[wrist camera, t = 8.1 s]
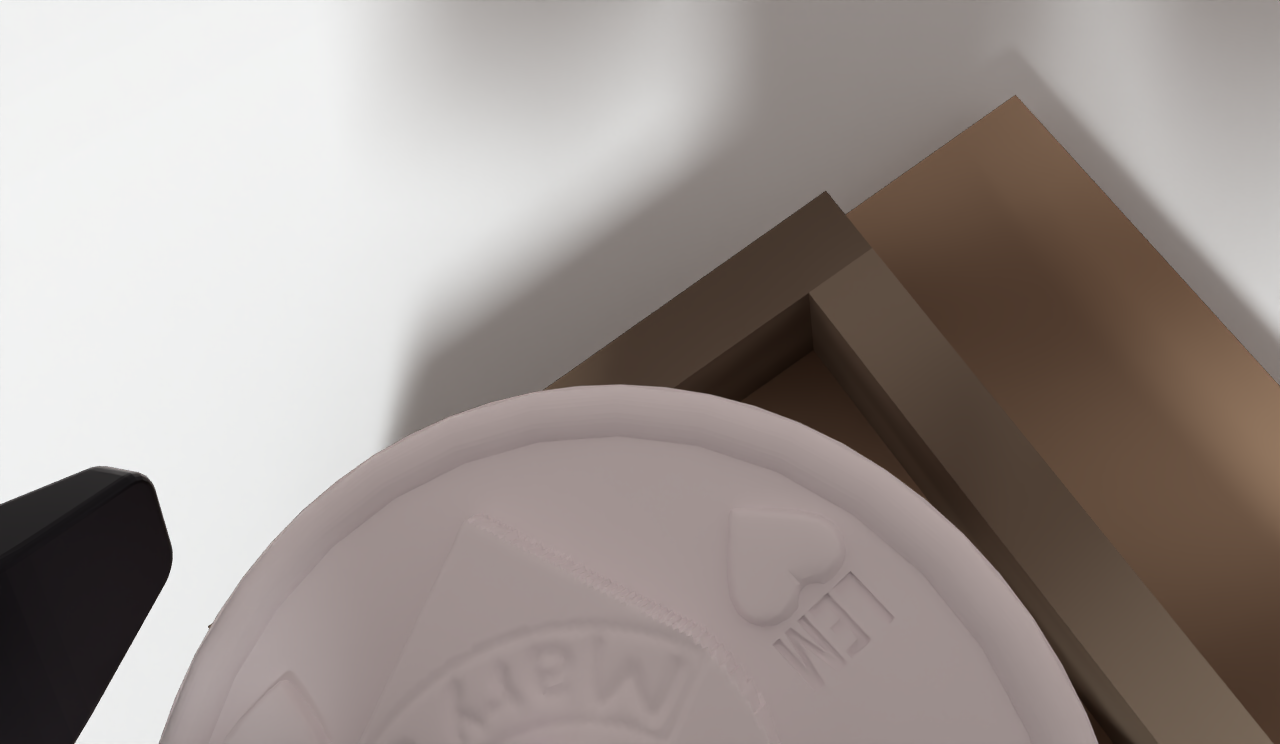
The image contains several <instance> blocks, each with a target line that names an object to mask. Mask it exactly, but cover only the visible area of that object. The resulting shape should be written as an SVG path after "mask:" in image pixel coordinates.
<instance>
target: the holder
mask: <svg viewBox="0 0 1280 744" xmlns="http://www.w3.org/2000/svg"><path fill="white" fill-rule="evenodd" d="M620 384H621V385H637V386H654V387H667V388H674V389H680V390H686V391H692V392H699V393H705V394H711V395H715V396H718V397H722V398H726V399H730V400H734V401H738V402H741V403H745V404H749V405H753V406H756V407H759V408H762V409H764V410H767V411H770V412H772V413H775V414H778V415H780V416H783V417H786V418H789V419H791V420H794V421H797V422H799V423H801V424H803V425H806V426H808V427H810V428H812V429H814V430H816V431H818V432H820V433H822V434H824V435H826V436H828V437H830V438H832V439H835V440H837V441H839V442H841V443H843V444H844V445H846V446H848V447H849V448H851V449H853V450H854V451H856V452H858V453H859V454H861V455H862V456H864V457H866V458H867V459H869V460H871V461H872V462H874V463H876V464H877V465H879V466H880V467H882V468H884V469H885V470H887V471H888V472H889V473H891V474H892V475H893V476H895V477H896V478H897V479H899V480H900V481H901V482H903V483H904V484H905V485H907V486H908V487H909V488H911V489H912V490H913V491H915V492H916V493H917V494H919V495H920V496H921V497H923V498H924V499H925V500H927V501H928V502H929V503H930V504H931V505H932V506H933V507H934V508H935V509H937V510H938V511H939V512H940V513H941V514H942V515H943V516H944V517H945V518H946V519H948V520H949V521H950V522H951V523H952V524H953V525H954V526H955V527H956V528H957V529H959V530H960V531H961V532H962V533H963V534H964V535H965V536H966V537H967V538H968V539H969V540H970V542H971V543H972V544H973V545H974V546H975V547H976V548H977V549H978V550H979V551H980V552H981V554H982V555H983V556H984V557H985V558H986V559H987V560H988V561H989V562H990V563H991V565H992V566H993V567H994V568H995V569H996V570H997V571H998V572H999V573H1000V575H1001V576H1002V577H1003V578H1004V580H1005V581H1006V582H1007V584H1008V585H1009V586H1010V588H1011V589H1012V590H1013V592H1014V593H1015V594H1016V596H1017V597H1018V598H1019V600H1020V601H1021V602H1022V604H1023V605H1024V606H1025V608H1026V609H1027V610H1028V611H1029V613H1030V614H1031V615H1032V617H1033V618H1034V620H1035V622H1036V623H1037V625H1038V626H1039V628H1040V630H1041V631H1042V633H1043V634H1044V636H1045V638H1046V639H1047V641H1048V643H1049V644H1050V646H1051V647H1052V649H1053V651H1054V652H1055V654H1056V655H1057V657H1058V659H1059V660H1060V662H1061V664H1062V665H1063V667H1064V669H1065V671H1066V673H1067V675H1068V677H1069V679H1070V681H1071V683H1072V685H1073V687H1074V689H1075V691H1076V693H1077V695H1078V697H1079V699H1080V701H1081V703H1082V705H1083V707H1084V709H1085V711H1086V713H1087V716H1088V718H1089V721H1090V723H1091V726H1092V728H1093V731H1094V734H1095V736H1096V739H1097V741H1098V744H1280V386H1279V385H1278V384H1277V383H1276V381H1275V380H1274V379H1273V378H1272V377H1271V376H1270V375H1269V374H1268V373H1267V372H1266V370H1265V369H1264V368H1263V367H1262V366H1261V365H1260V364H1259V363H1258V362H1257V360H1256V359H1255V358H1254V357H1253V356H1252V355H1251V354H1250V353H1249V352H1248V351H1247V349H1246V348H1245V347H1244V346H1243V345H1242V344H1241V343H1240V342H1239V341H1238V340H1237V338H1236V337H1235V336H1234V335H1233V334H1232V333H1231V332H1230V331H1229V330H1228V329H1227V327H1226V326H1225V325H1224V324H1223V323H1222V322H1221V321H1220V320H1219V319H1218V318H1217V316H1216V315H1215V314H1214V313H1213V312H1212V311H1211V310H1210V309H1209V308H1208V306H1207V305H1206V304H1205V303H1204V302H1203V301H1202V300H1201V299H1200V298H1199V297H1198V295H1197V294H1196V293H1195V292H1194V291H1193V290H1192V289H1191V288H1190V287H1189V286H1188V284H1187V283H1186V282H1185V281H1184V280H1183V279H1182V278H1181V277H1180V276H1179V275H1178V273H1177V272H1176V271H1175V270H1174V269H1173V268H1172V267H1171V266H1170V265H1169V264H1168V262H1167V261H1166V260H1165V259H1164V258H1163V257H1162V256H1161V255H1160V254H1159V252H1158V251H1157V250H1156V249H1155V248H1154V247H1153V246H1152V245H1151V244H1150V243H1149V241H1148V240H1147V239H1146V238H1145V237H1144V236H1143V235H1142V234H1141V233H1140V232H1139V230H1138V229H1137V228H1136V227H1135V226H1134V225H1133V224H1132V223H1131V222H1130V221H1129V219H1128V218H1127V217H1126V216H1125V215H1124V214H1123V213H1122V212H1121V211H1120V210H1119V208H1118V207H1117V206H1116V205H1115V204H1114V203H1113V202H1112V201H1111V200H1110V198H1109V197H1108V196H1107V195H1106V194H1105V193H1104V192H1103V191H1102V190H1101V189H1100V187H1099V186H1098V185H1097V184H1096V183H1095V182H1094V181H1093V180H1092V179H1091V178H1090V176H1089V175H1088V174H1087V173H1086V172H1085V171H1084V170H1083V169H1082V168H1081V167H1080V165H1079V164H1078V163H1077V162H1076V161H1075V160H1074V159H1073V158H1072V157H1071V156H1070V154H1069V153H1068V152H1067V151H1066V150H1065V149H1064V148H1063V147H1062V146H1061V144H1060V143H1059V142H1058V141H1057V140H1056V139H1055V138H1054V137H1053V136H1052V135H1051V133H1050V132H1049V131H1048V130H1047V129H1046V128H1045V127H1044V126H1043V125H1042V124H1041V122H1040V121H1039V120H1038V119H1037V118H1036V117H1035V116H1034V115H1033V114H1032V113H1031V111H1030V110H1029V109H1028V108H1027V107H1026V106H1025V105H1024V104H1023V103H1022V102H1021V100H1020V99H1019V98H1018V97H1017V96H1016V95H1015V96H1013V97H1012V98H1010V99H1009V100H1007V101H1006V102H1005V103H1003V104H1002V105H1000V106H999V107H998V108H996V109H995V110H993V111H992V112H990V113H989V114H988V115H986V116H985V117H983V118H982V119H980V120H979V121H978V122H976V123H975V124H973V125H972V126H971V127H969V128H968V129H966V130H965V131H963V132H962V133H961V134H959V135H958V136H956V137H955V138H954V139H952V140H951V141H949V142H948V143H946V144H945V145H944V146H942V147H941V148H939V149H938V150H936V151H935V152H934V153H932V154H931V155H929V156H928V157H927V158H925V159H924V160H922V161H921V162H919V163H918V164H917V165H915V166H914V167H912V168H911V169H910V170H908V171H907V172H905V173H904V174H902V175H901V176H900V177H898V178H897V179H895V180H894V181H892V182H891V183H890V184H888V185H887V186H885V187H884V188H883V189H881V190H880V191H878V192H877V193H875V194H874V195H873V196H871V197H870V198H868V199H867V200H866V201H864V202H863V203H861V204H860V205H858V206H857V207H856V208H854V209H853V210H851V211H850V212H848V213H847V214H846V215H845V214H844V212H843V211H842V210H841V209H840V208H839V206H838V205H837V204H836V203H835V201H834V200H833V199H832V198H831V196H830V195H829V194H828V193H827V191H825V192H823V193H822V194H821V195H819V196H818V197H816V198H815V199H814V200H812V201H811V202H809V203H808V204H806V205H805V206H804V207H802V208H801V209H799V210H798V211H797V212H795V213H794V214H792V215H791V216H789V217H788V218H787V219H785V220H784V221H782V222H781V223H779V224H778V225H777V226H775V227H774V228H772V229H771V230H770V231H768V232H767V233H765V234H764V235H762V236H761V237H760V238H758V239H757V240H755V241H754V242H753V243H751V244H750V245H748V246H747V247H745V248H744V249H743V250H741V251H740V252H738V253H737V254H736V255H734V256H733V257H731V258H730V259H728V260H727V261H726V262H724V263H723V264H721V265H720V266H718V267H717V268H716V269H714V270H713V271H711V272H710V273H709V274H707V275H706V276H704V277H703V278H701V279H700V280H699V281H697V282H696V283H694V284H693V285H692V286H690V287H689V288H687V289H686V290H684V291H683V292H682V293H680V294H679V295H677V296H676V297H675V298H673V299H672V300H670V301H669V302H667V303H666V304H665V305H663V306H662V307H660V308H659V309H658V310H656V311H655V312H653V313H652V314H650V315H649V316H648V317H646V318H645V319H643V320H642V321H640V322H639V323H638V324H636V325H635V326H633V327H632V328H631V329H629V330H628V331H626V332H625V333H623V334H622V335H621V336H619V337H618V338H616V339H615V340H614V341H612V342H611V343H609V344H608V345H606V346H605V347H604V348H602V349H601V350H599V351H598V352H597V353H595V354H594V355H592V356H591V357H589V358H588V359H587V360H585V361H584V362H582V363H581V364H579V365H578V366H577V367H575V368H574V369H572V370H571V371H570V372H568V373H567V374H565V375H564V376H562V377H561V378H560V379H558V380H557V381H555V382H554V383H553V384H551V385H550V386H548V387H547V388H545V389H544V390H543V391H545V390H552V389H560V388H567V387H574V386H594V385H620ZM211 625H212V624H211ZM211 625H209V626H208V628H209V629H210V627H211Z"/></svg>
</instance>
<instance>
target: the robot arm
mask: <svg viewBox="0 0 1280 744" xmlns="http://www.w3.org/2000/svg"><path fill="white" fill-rule="evenodd" d="M172 560H173V551H172V546H171V542H170V539H169V535H168V532H167V528H166V525H165V521H164V518H163V514H162V511H161V507H160V504H159V501H158V497H157V494H156V490H155V488H154V485H153V483H152V482H151V481H150V480H149V479H148V477H147V476H145V475H143V474H141V473H139V472H134V471H129V470H124V469H118V468H113V467H108V466H97V467H92V468H89V469H86V470H84V471H81V472H79V473H76V474H74V475H71V476H69V477H66V478H64V479H61V480H59V481H57V482H54V483H52V484H49V485H47V486H44V487H42V488H39V489H37V490H34V491H32V492H29V493H27V494H25V495H22V496H20V497H17V498H15V499H12V500H10V501H7V502H5V503H2V504H0V744H74V743H75V742H76V740H77V738H78V737H79V735H80V733H81V732H82V730H83V728H84V727H85V725H86V723H87V722H88V720H89V718H90V717H91V715H92V713H93V712H94V710H95V708H96V706H97V704H98V703H99V701H100V699H101V697H102V695H103V694H104V692H105V690H106V688H107V687H108V685H109V683H110V681H111V679H112V678H113V676H114V674H115V672H116V670H117V669H118V667H119V665H120V663H121V662H122V660H123V658H124V656H125V654H126V653H127V651H128V649H129V647H130V645H131V644H132V642H133V640H134V638H135V637H136V635H137V633H138V631H139V629H140V628H141V626H142V624H143V622H144V620H145V619H146V617H147V615H148V613H149V612H150V610H151V608H152V606H153V604H154V603H155V601H156V599H157V597H158V595H159V594H160V592H161V590H162V588H163V587H164V585H165V583H166V581H167V579H168V576H169V573H170V570H171V566H172Z"/></svg>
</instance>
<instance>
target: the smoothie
mask: <svg viewBox="0 0 1280 744" xmlns="http://www.w3.org/2000/svg"><path fill="white" fill-rule="evenodd" d="M159 744H1098V741H1097V739H1096V736H1095V734H1094V731H1093V728H1092V726H1091V723H1090V721H1089V718H1088V716H1087V713H1086V711H1085V709H1084V707H1083V705H1082V703H1081V701H1080V699H1079V697H1078V695H1077V693H1076V691H1075V689H1074V687H1073V685H1072V683H1071V681H1070V679H1069V677H1068V675H1067V673H1066V671H1065V669H1064V667H1063V665H1062V664H1061V662H1060V660H1059V659H1058V657H1057V655H1056V654H1055V652H1054V651H1053V649H1052V647H1051V646H1050V644H1049V643H1048V641H1047V639H1046V638H1045V636H1044V634H1043V633H1042V631H1041V630H1040V628H1039V626H1038V625H1037V623H1036V622H1035V620H1034V618H1033V617H1032V615H1031V614H1030V613H1029V611H1028V610H1027V609H1026V608H1025V606H1024V605H1023V604H1022V602H1021V601H1020V600H1019V598H1018V597H1017V596H1016V594H1015V593H1014V592H1013V590H1012V589H1011V588H1010V586H1009V585H1008V584H1007V582H1006V581H1005V580H1004V578H1003V577H1002V576H1001V575H1000V573H999V572H998V571H997V570H996V569H995V568H994V567H993V566H992V565H991V563H990V562H989V561H988V560H987V559H986V558H985V557H984V556H983V555H982V554H981V552H980V551H979V550H978V549H977V548H976V547H975V546H974V545H973V544H972V543H971V542H970V540H969V539H968V538H967V537H966V536H965V535H964V534H963V533H962V532H961V531H960V530H959V529H957V528H956V527H955V526H954V525H953V524H952V523H951V522H950V521H949V520H948V519H946V518H945V517H944V516H943V515H942V514H941V513H940V512H939V511H938V510H937V509H935V508H934V507H933V506H932V505H931V504H930V503H929V502H928V501H927V500H925V499H924V498H923V497H921V496H920V495H919V494H917V493H916V492H915V491H913V490H912V489H911V488H909V487H908V486H907V485H905V484H904V483H903V482H901V481H900V480H899V479H897V478H896V477H895V476H893V475H892V474H891V473H889V472H888V471H887V470H885V469H884V468H882V467H880V466H879V465H877V464H876V463H874V462H872V461H871V460H869V459H867V458H866V457H864V456H862V455H861V454H859V453H858V452H856V451H854V450H853V449H851V448H849V447H848V446H846V445H844V444H843V443H841V442H839V441H837V440H835V439H832V438H830V437H828V436H826V435H824V434H822V433H820V432H818V431H816V430H814V429H812V428H810V427H808V426H806V425H803V424H801V423H799V422H797V421H794V420H791V419H789V418H786V417H783V416H780V415H778V414H775V413H772V412H770V411H767V410H764V409H762V408H759V407H756V406H753V405H749V404H745V403H741V402H738V401H734V400H730V399H726V398H722V397H718V396H715V395H711V394H705V393H699V392H692V391H686V390H680V389H674V388H667V387H654V386H637V385H621V384H620V385H594V386H574V387H567V388H560V389H552V390H545V391H538V392H531V393H527V394H523V395H519V396H515V397H511V398H506V399H502V400H498V401H494V402H490V403H487V404H484V405H481V406H478V407H475V408H472V409H470V410H467V411H464V412H461V413H458V414H455V415H452V416H449V417H447V418H445V419H443V420H440V421H438V422H436V423H434V424H432V425H430V426H427V427H425V428H423V429H421V430H419V431H416V432H414V433H412V434H410V435H408V436H406V437H405V438H403V439H401V440H399V441H398V442H396V443H394V444H392V445H391V446H389V447H387V448H385V449H384V450H382V451H380V452H378V453H377V454H375V455H373V456H372V457H370V458H369V459H367V460H366V461H365V462H363V463H362V464H360V465H359V466H357V467H356V468H355V469H353V470H352V471H350V472H349V473H348V474H346V475H345V476H343V477H342V478H340V479H339V480H338V481H336V482H335V483H334V484H333V485H332V486H330V487H329V488H328V489H327V490H326V491H325V492H323V493H322V494H321V495H320V496H319V497H318V498H316V499H315V500H314V501H313V502H312V503H311V504H309V505H308V506H307V507H306V508H305V509H303V510H302V511H301V512H300V513H299V515H298V516H297V517H296V518H295V519H294V520H293V521H292V522H291V523H290V524H289V525H288V526H287V527H286V528H285V529H284V530H283V531H282V532H281V533H280V534H279V535H278V536H277V537H276V538H275V539H274V540H273V541H272V542H271V543H270V545H269V546H268V547H267V548H266V550H265V551H264V552H263V553H262V554H261V556H260V557H259V558H258V559H257V561H256V562H255V563H254V564H253V565H252V567H251V568H250V569H249V570H248V572H247V573H246V574H245V575H244V576H243V578H242V579H241V581H240V582H239V584H238V585H237V587H236V588H235V590H234V591H233V593H232V594H231V595H230V597H229V598H228V600H227V601H226V603H225V604H224V606H223V607H222V609H221V610H220V612H219V613H218V615H217V616H216V618H215V620H214V622H213V623H212V625H211V627H210V629H209V631H208V632H207V634H206V636H205V638H204V639H203V641H202V643H201V645H200V646H199V648H198V650H197V652H196V654H195V656H194V658H193V660H192V662H191V664H190V666H189V669H188V671H187V673H186V675H185V677H184V680H183V682H182V684H181V686H180V688H179V690H178V693H177V695H176V697H175V700H174V703H173V705H172V708H171V711H170V714H169V716H168V719H167V722H166V725H165V728H164V730H163V733H162V736H161V739H160V741H159Z"/></svg>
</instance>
